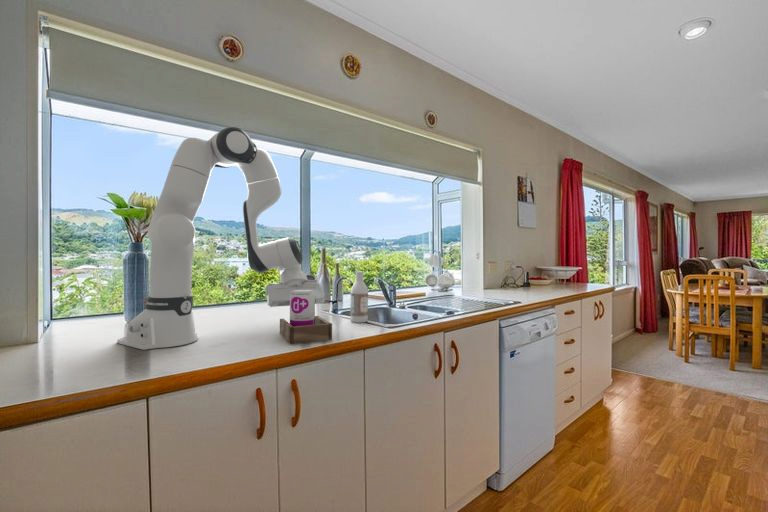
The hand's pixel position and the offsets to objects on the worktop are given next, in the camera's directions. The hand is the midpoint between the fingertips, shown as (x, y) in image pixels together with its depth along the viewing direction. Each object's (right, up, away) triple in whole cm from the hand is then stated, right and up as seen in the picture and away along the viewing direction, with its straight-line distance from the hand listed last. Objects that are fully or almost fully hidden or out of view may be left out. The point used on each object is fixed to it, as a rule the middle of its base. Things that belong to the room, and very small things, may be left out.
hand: (300, 313), depth 128 cm
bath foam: (+19, -6, +19) cm, 28 cm away
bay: (+3, -7, -6) cm, 9 cm away
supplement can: (+2, -7, -4) cm, 8 cm away
